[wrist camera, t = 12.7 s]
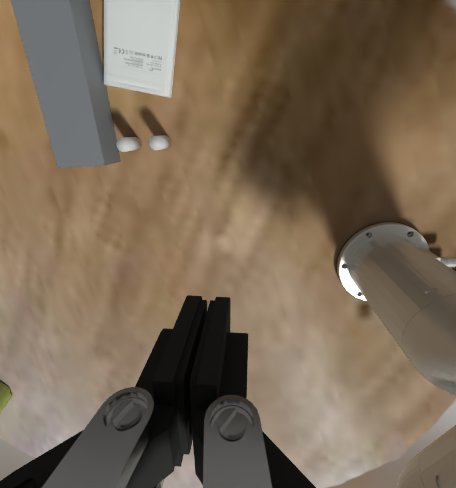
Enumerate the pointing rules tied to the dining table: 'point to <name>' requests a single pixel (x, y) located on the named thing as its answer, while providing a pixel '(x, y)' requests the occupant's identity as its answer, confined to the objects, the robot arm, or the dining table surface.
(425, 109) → the dining table surface
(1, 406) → the plant pot
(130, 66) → the external hard drive
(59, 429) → the dining table surface
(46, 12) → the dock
